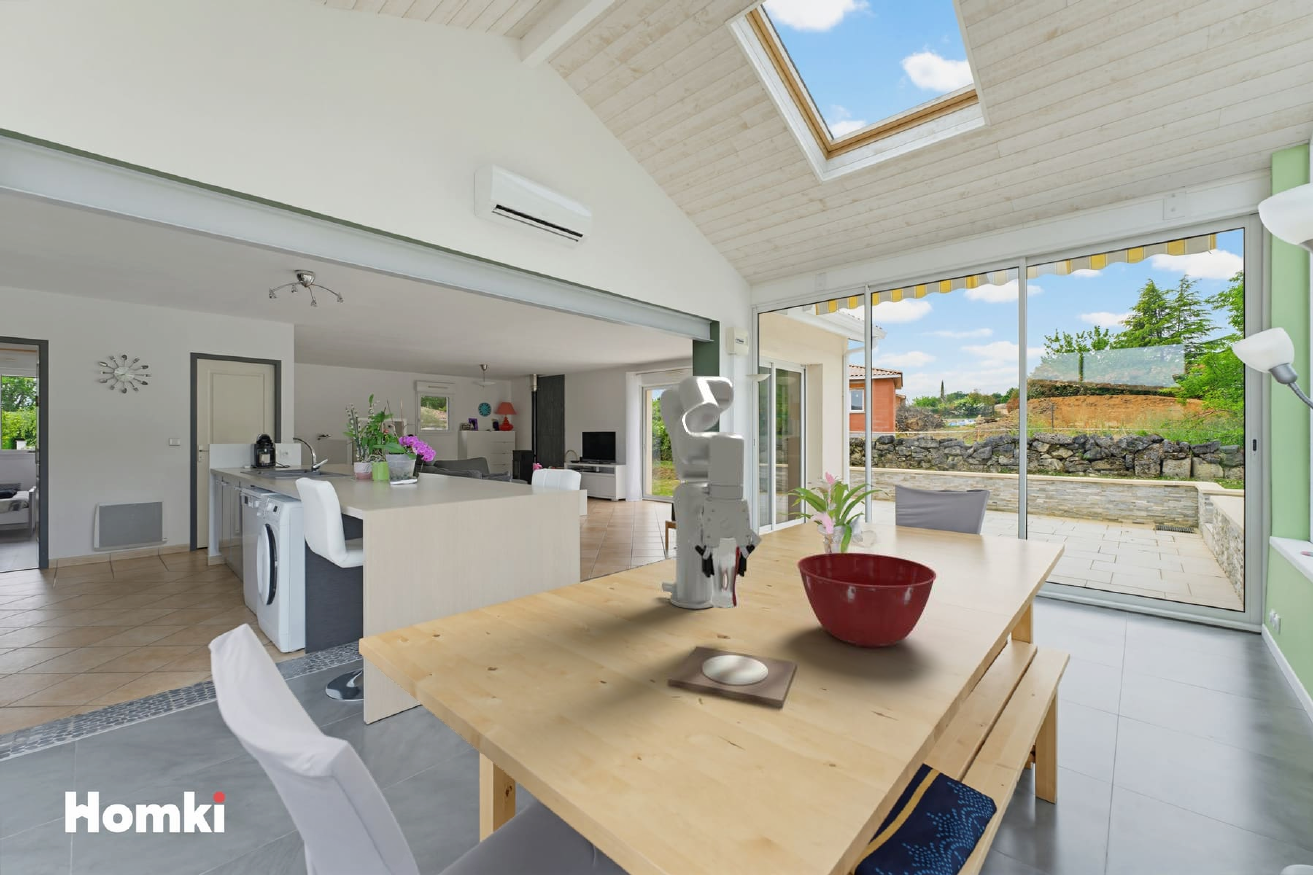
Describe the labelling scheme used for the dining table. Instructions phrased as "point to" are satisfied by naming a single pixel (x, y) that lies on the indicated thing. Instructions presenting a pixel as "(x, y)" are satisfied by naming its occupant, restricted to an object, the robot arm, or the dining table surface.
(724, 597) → the silver metal tumbler
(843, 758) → the dining table surface
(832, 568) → the mixing bowl
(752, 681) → the walnut board
